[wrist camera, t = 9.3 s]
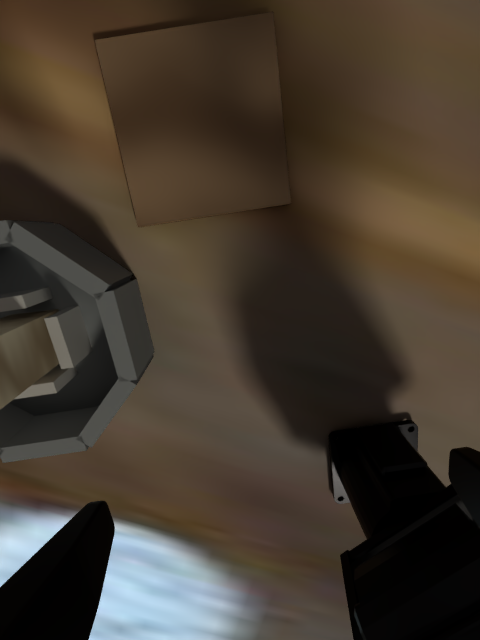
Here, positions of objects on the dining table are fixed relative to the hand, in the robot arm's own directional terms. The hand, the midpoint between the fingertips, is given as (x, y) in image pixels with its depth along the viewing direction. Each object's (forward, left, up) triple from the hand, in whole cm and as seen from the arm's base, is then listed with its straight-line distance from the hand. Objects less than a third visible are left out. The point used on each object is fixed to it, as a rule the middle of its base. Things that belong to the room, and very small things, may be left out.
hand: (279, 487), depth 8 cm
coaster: (+12, +1, -13) cm, 18 cm away
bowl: (+2, +13, -13) cm, 18 cm away
